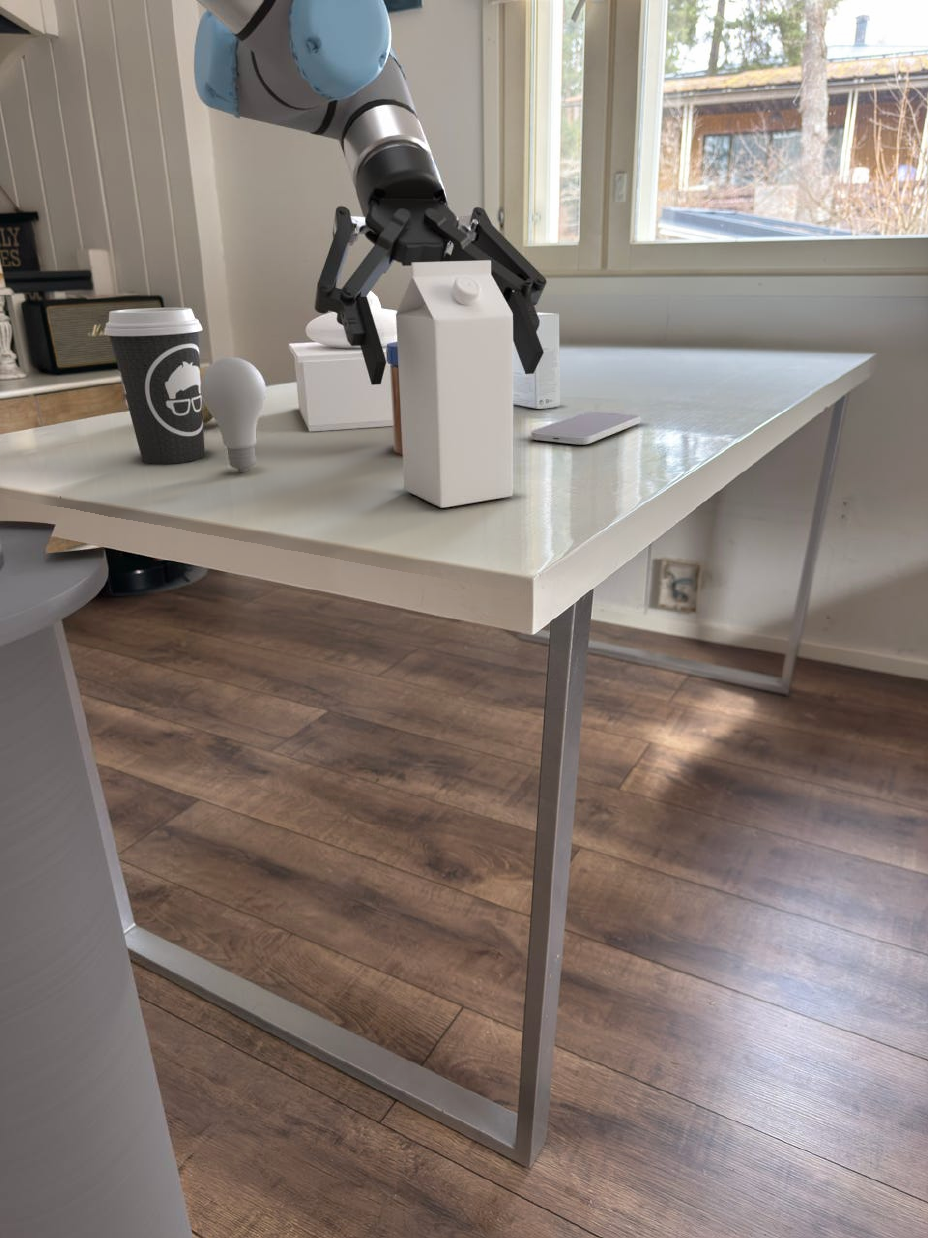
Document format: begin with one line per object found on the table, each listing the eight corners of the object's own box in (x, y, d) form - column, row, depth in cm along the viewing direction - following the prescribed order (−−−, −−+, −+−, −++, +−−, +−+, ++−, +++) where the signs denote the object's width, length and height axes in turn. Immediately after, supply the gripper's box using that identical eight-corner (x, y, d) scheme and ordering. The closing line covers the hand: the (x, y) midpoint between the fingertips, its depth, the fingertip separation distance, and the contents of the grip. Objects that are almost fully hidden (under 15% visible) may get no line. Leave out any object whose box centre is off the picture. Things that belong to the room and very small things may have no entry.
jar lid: (424, 368, 85) (423, 348, 84) (371, 363, 90) (370, 344, 90) (479, 360, 90) (479, 341, 90) (426, 355, 96) (425, 338, 95)
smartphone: (526, 432, 97) (588, 410, 108) (526, 440, 97) (588, 417, 108) (585, 438, 93) (643, 415, 104) (585, 446, 93) (643, 422, 104)
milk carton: (404, 492, 77) (392, 262, 70) (473, 481, 80) (469, 260, 73) (440, 510, 71) (432, 262, 64) (513, 497, 74) (513, 259, 67)
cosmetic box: (561, 406, 117) (563, 312, 113) (534, 410, 115) (535, 314, 111) (534, 401, 122) (535, 310, 118) (508, 404, 120) (508, 312, 115)
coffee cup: (217, 445, 98) (198, 305, 93) (221, 462, 90) (201, 310, 84) (128, 452, 96) (103, 309, 90) (125, 470, 87) (97, 314, 82)
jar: (428, 459, 89) (424, 353, 85) (379, 450, 94) (373, 349, 90) (478, 447, 94) (476, 346, 90) (429, 439, 99) (426, 342, 95)
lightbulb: (260, 479, 83) (246, 360, 78) (201, 478, 84) (184, 361, 79) (283, 465, 88) (272, 353, 84) (228, 464, 89) (213, 353, 85)
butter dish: (448, 421, 109) (444, 287, 103) (304, 431, 105) (291, 292, 99) (421, 401, 124) (416, 283, 118) (295, 409, 121) (283, 287, 114)
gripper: (509, 211, 85) (577, 387, 78) (253, 211, 76) (303, 408, 69) (534, 144, 78) (611, 329, 71) (256, 135, 70) (312, 344, 63)
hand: (459, 368), depth 70 cm, fingers open, 13 cm apart
